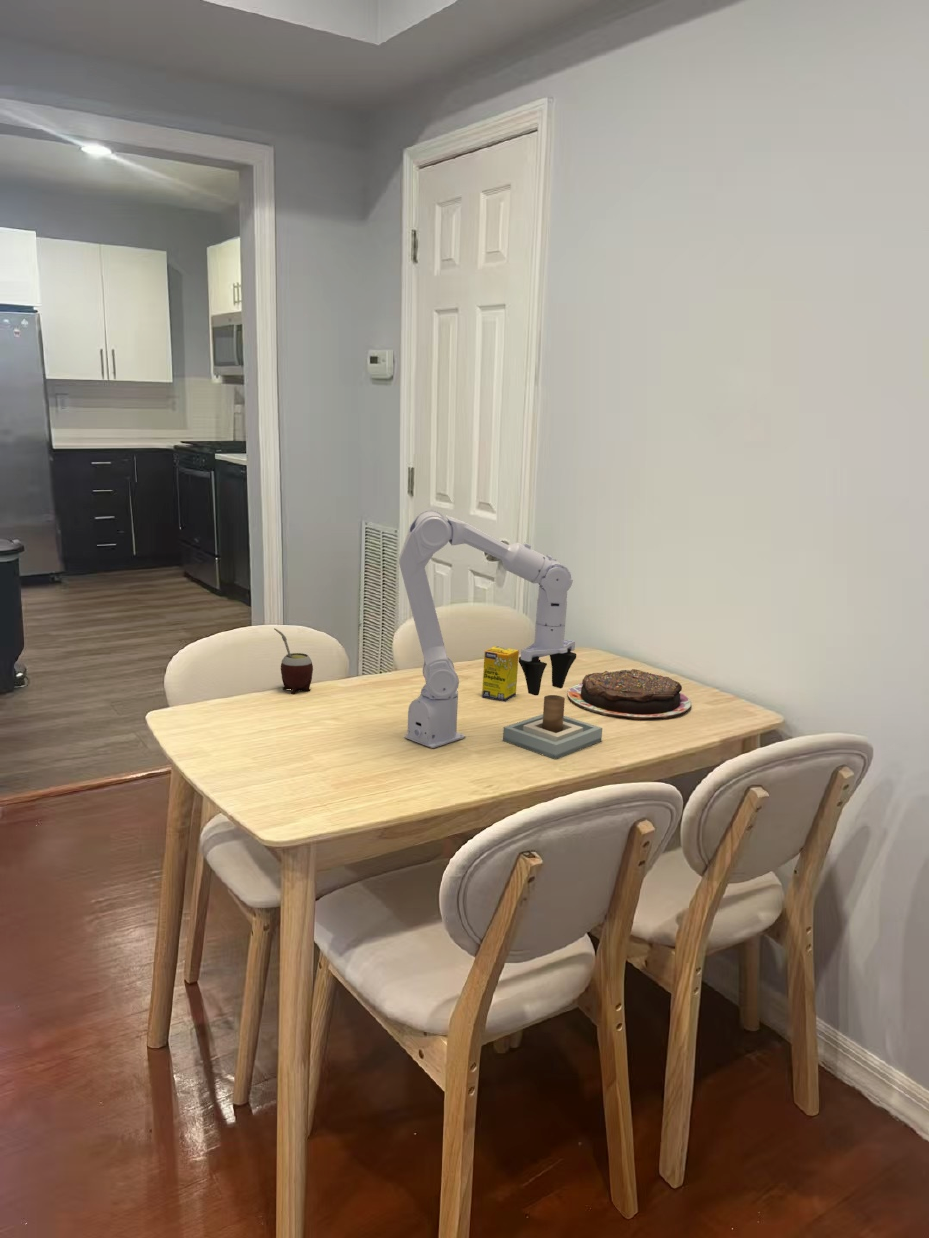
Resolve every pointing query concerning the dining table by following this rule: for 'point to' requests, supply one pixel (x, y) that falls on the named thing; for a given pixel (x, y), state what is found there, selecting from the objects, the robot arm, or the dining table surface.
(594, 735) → the tray
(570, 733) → the socket block
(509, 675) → the supplement box
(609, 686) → the chocolate cake
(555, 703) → the walnut peg
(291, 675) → the mate gourd
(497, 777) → the dining table surface
